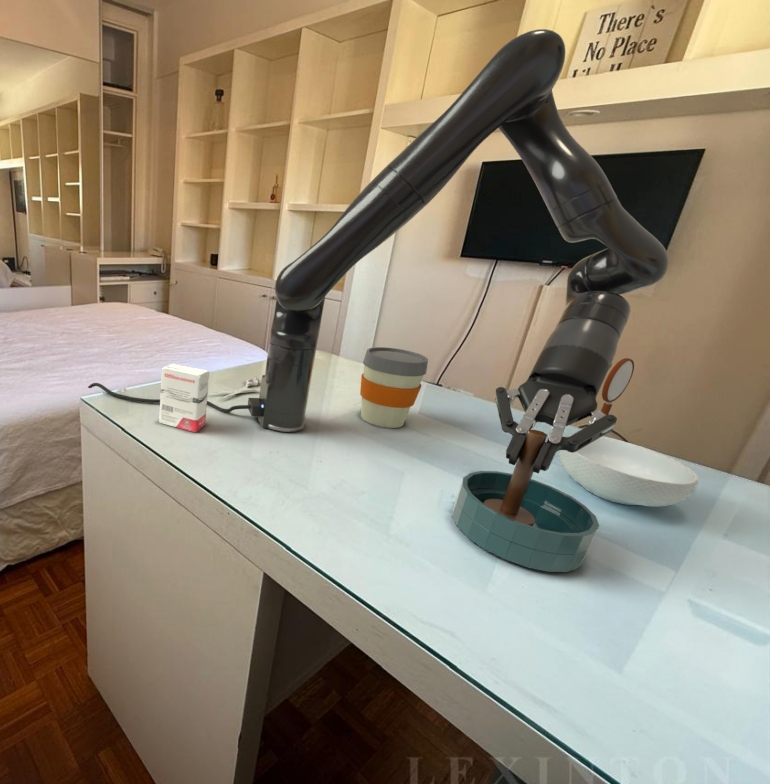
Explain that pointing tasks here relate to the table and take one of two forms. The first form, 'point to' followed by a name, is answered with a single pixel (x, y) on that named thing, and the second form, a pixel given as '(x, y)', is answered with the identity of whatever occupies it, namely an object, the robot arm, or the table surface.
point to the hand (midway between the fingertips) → (524, 465)
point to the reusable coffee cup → (390, 385)
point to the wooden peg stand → (520, 481)
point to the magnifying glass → (616, 382)
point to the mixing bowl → (521, 541)
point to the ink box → (183, 397)
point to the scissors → (243, 388)
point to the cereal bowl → (629, 473)
